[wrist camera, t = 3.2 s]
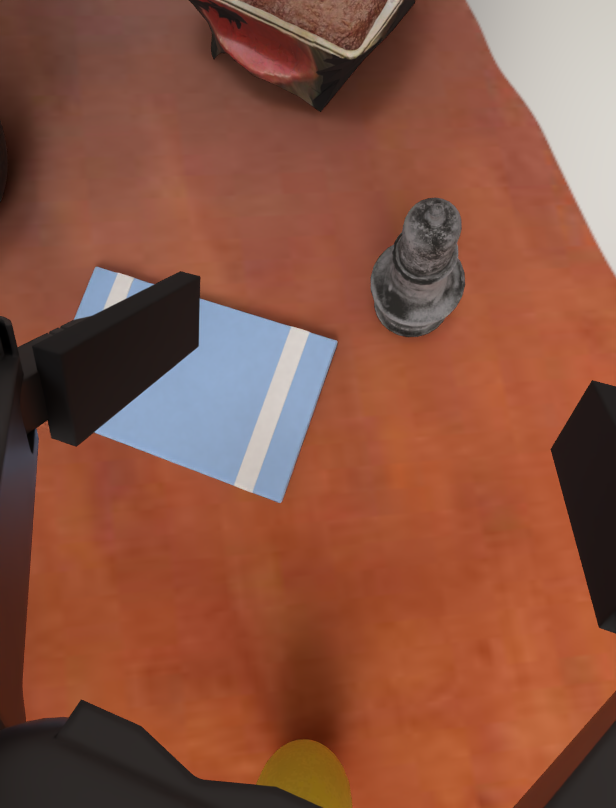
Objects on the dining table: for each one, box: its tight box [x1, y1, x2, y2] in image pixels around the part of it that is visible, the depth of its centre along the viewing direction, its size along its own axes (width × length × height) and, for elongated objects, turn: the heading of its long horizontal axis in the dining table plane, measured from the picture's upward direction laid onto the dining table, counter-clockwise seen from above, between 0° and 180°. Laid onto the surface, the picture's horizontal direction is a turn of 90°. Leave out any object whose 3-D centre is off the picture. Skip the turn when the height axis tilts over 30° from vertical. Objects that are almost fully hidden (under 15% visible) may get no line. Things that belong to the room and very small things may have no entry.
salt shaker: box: [371, 198, 465, 337], centre depth 26 cm, size 6×6×12 cm
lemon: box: [256, 739, 352, 808], centre depth 25 cm, size 6×6×8 cm
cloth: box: [74, 267, 338, 503], centre depth 33 cm, size 12×20×1 cm, turn 71°
